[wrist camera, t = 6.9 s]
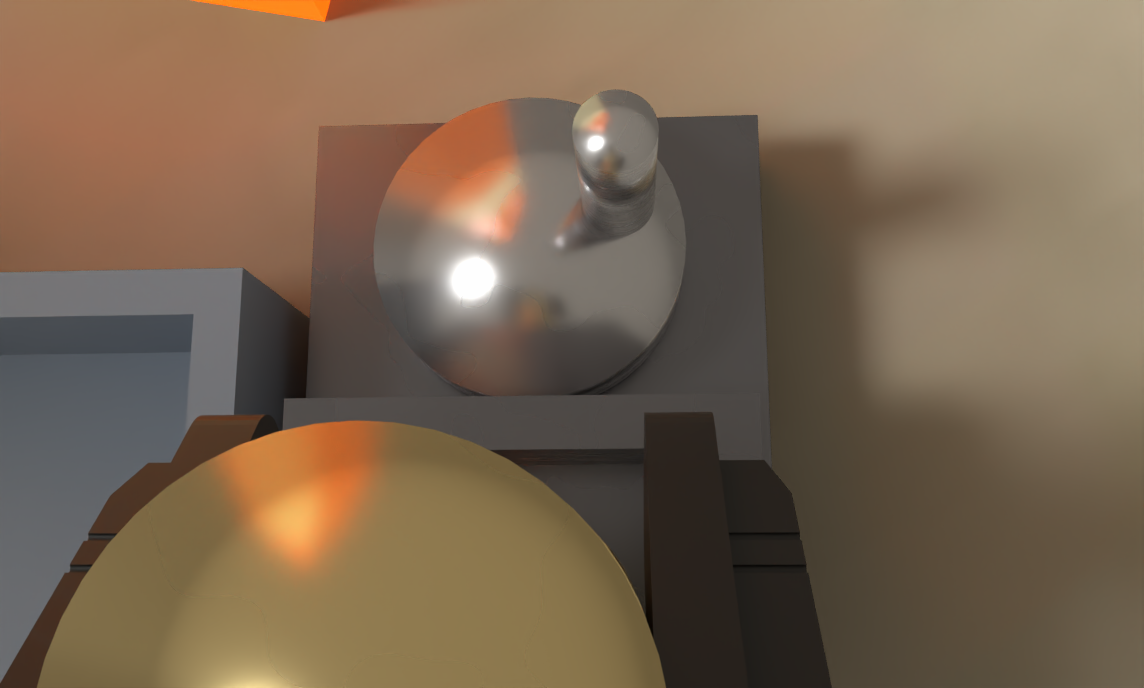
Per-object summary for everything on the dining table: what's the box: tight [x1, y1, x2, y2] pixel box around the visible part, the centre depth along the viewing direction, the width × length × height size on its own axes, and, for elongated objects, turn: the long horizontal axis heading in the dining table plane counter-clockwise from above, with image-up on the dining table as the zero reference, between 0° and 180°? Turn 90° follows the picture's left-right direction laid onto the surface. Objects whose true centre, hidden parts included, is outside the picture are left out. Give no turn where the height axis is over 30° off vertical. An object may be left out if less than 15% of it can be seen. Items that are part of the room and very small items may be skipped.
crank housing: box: [282, 90, 772, 617], centre depth 17 cm, size 8×14×6 cm, turn 0°
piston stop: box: [37, 420, 666, 688], centre depth 10 cm, size 4×4×8 cm
